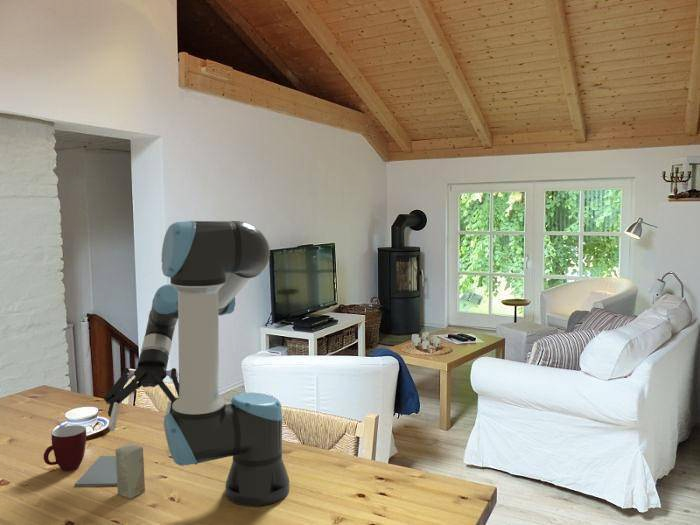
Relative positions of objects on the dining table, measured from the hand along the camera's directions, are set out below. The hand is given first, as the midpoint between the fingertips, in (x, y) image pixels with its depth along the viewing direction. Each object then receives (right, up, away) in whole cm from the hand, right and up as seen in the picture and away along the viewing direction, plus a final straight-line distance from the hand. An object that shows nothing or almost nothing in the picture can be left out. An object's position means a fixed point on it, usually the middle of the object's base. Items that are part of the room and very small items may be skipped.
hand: (138, 428), depth 145 cm
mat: (-9, -12, +4) cm, 15 cm away
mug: (-20, -12, +4) cm, 24 cm away
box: (+1, -13, -7) cm, 15 cm away
